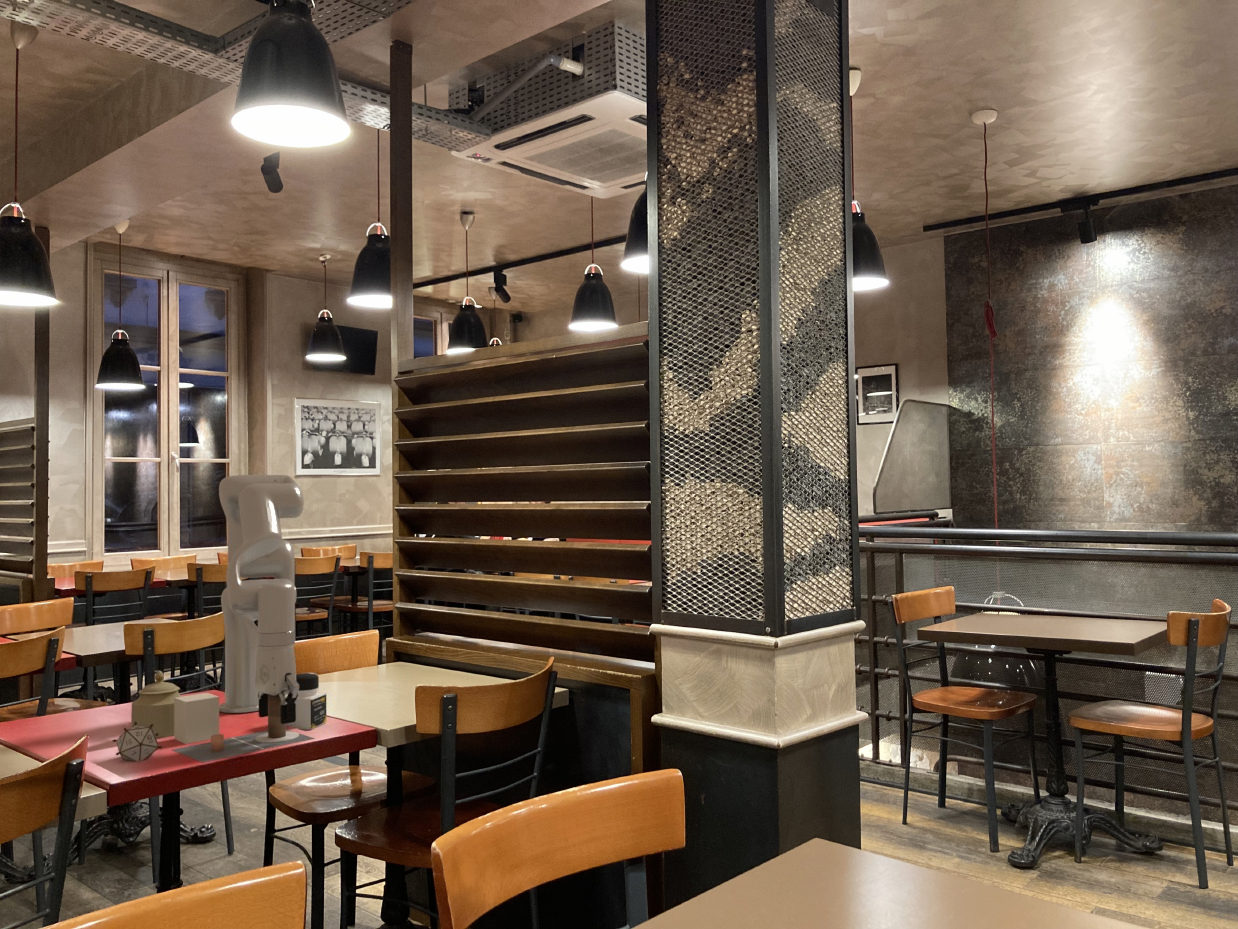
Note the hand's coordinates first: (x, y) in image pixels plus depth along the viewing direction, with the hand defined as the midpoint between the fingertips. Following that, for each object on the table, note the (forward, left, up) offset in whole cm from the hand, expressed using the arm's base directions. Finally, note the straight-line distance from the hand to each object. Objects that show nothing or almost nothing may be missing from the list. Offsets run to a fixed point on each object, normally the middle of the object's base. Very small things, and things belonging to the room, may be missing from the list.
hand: (277, 719), depth 205 cm
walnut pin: (0, 0, -4) cm, 4 cm away
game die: (-7, -26, -5) cm, 27 cm away
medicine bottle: (-10, +12, -5) cm, 16 cm away
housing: (-17, -11, 0) cm, 20 cm away
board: (0, -7, -5) cm, 9 cm away
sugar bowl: (-27, -15, -5) cm, 32 cm away
